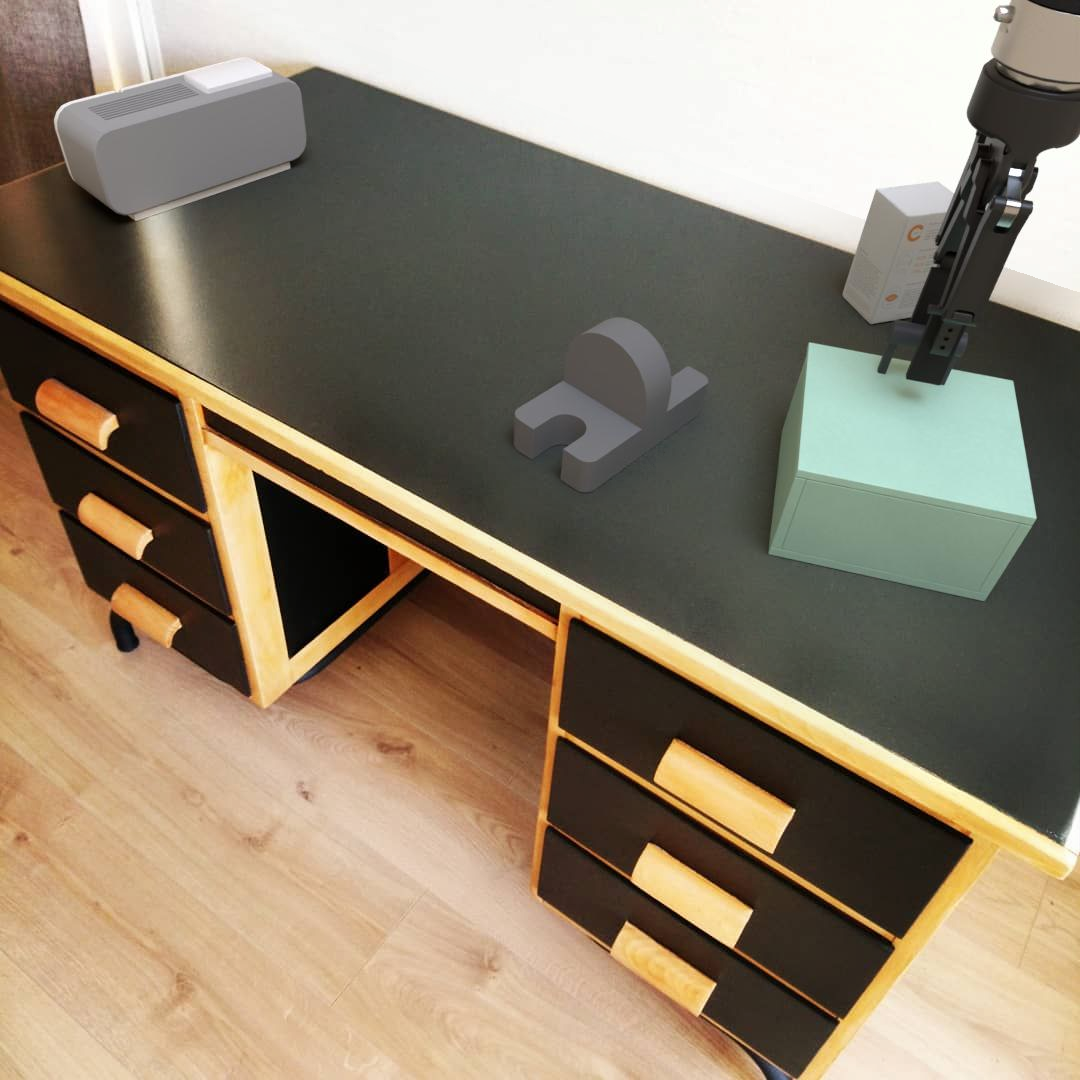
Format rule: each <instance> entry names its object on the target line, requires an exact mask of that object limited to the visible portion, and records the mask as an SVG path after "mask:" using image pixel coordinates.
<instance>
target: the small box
mask: <svg viewBox="0 0 1080 1080" xmlns="http://www.w3.org/2000/svg"><path fill="white" fill-rule="evenodd" d="M954 193H955V192H953V190H950V189H949V188H948V187H946V186H945V185H944V184H942V183H941V182H939V181H930V182H921V183H914V184H906V185H898V186H891V187H882V188H881V187H880V188H876V189H875V191H874V194H873V198H872V201H871V204H870V206H869V208H868V209H869V210H868V213H867V216H866V218H865V219H866V220H865V222H864V226H863V228H862V232H861V234H860V237H859V240H858V244H857V247H856V251H855V253H854V256H853V259H852V263H851V266H850V269H849V272H848V275H847V277H846V281H845V284H844V288H843V291H842V295H841V296H842V298H844V300H846V301H847V303H848V304H849V305H850V306H851V307H852V308H853V309H854V310H855V311H856V312H857V313H858V315H860V316H861V317H862V318H863V319H864V320H865V321H866V322H867V323H868V324H869V325H874V324H881V323H887V322H893V320H903V319H911V317H912V314H913V312H914V309H915V307H916V304H917V302H918V299H919V297H920V294H921V292H922V289H923V287H924V284H925V282H926V279H927V277H928V274H929V272H930V269H931V267H937V264H934V263H933V261H934V259H933V256H934V253H935V252H936V251H937V249H938V247H939V246H935V238H936V235H938V232H939V230H940V227H941V225H942V222H943V220H944V218H945V215H946V213H947V210H948V208H949V205H950V203H951V200H952V198H953V195H954Z"/></svg>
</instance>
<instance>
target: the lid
mask: <svg viewBox="0 0 1080 1080" xmlns="http://www.w3.org/2000/svg"><path fill="white" fill-rule="evenodd" d="M925 327H926V325H921V324H916V323H910V321H904V320H901V319H899V320H893V321H891V323H890V326H889V329H888V333H887V338H886V342H887V343H886V345H885V348H884V351H883V353H882V355H880V354H879V355H878V354H874V353H869V352H863V351H858V350H853V349H847V348H843V347H842V348H841V347H836V346H831V345H827V344H820V343H816V342H808V344H807V347H806V352H805V353H806V354H805V355H806V356H805V358H806V364H805V375H804V386H803V397H802V408H801V419H800V430H799V441H798V452H797V463H796V474H795V476H796V477H800V478H805V479H810V480H815V481H820V482H825V483H829V484H834V485H839V486H844V487H849V488H854V489H858V490H863V491H868V492H873V493H878V494H883V495H887V496H892V497H897V498H902V499H907V500H912V501H916V502H921V503H926V504H931V505H936V506H941V507H945V508H950V509H955V510H960V511H965V512H970V513H974V514H979V515H984V516H989V517H994V518H999V519H1003V520H1008V521H1013V522H1018V523H1023V524H1028V525H1032V526H1034V523H1035V522H1036V520H1037V518H1038V517H1037V512H1036V505H1035V500H1034V494H1033V488H1032V482H1031V477H1030V470H1029V466H1028V464H1029V463H1028V459H1027V452H1026V447H1025V442H1024V435H1023V429H1022V425H1021V418H1020V412H1019V407H1018V401H1017V396H1016V388H1015V383H1014V382H1015V381H1014V380H1011V379H1006V378H1001V377H996V376H990V375H986V374H980V373H975V372H969V371H964V370H958V369H953V367H954V365H955V364H956V361H957V359H958V357H959V358H961V357H962V356H963V355H964V353H965V351H966V349H967V346H968V341H969V333H968V332H965V331H964V333H963V335H962V338H961V340H960V342H959V344H958V346H957V349H956V351H955V353H954V355H953V357H952V360H951V362H950V364H949V366H948V369H947V371H946V373H945V375H944V377H943V380H942V382H941V384H940V386H939V385H934V384H928V383H923V382H918V381H913V380H907V379H906V372H907V370H908V368H909V365H910V363H911V360H905V359H901V358H895V357H893V356H894V354H895V352H896V349H897V346H899V347H905V348H909V349H910V348H911V349H915V350H916V348H917V346H918V344H919V341H920V339H921V336H922V334H923V332H924V329H925Z"/></svg>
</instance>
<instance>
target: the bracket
mask: <svg viewBox="0 0 1080 1080" xmlns="http://www.w3.org/2000/svg"><path fill="white" fill-rule="evenodd" d="M708 385H709V378H708V376H706V375H705V374H704V373H703V372H700V371H698V370H697V369H695V368H693V367H691V366H690V365H687V366H685V367H684V368H683V369H681V370H680V371H678V372H676V373H675V374H674V375H672V372H671V366H670V362H669V361H668V358H667V356H666V353H665V351H664V349H663V347H662V345H661V344H660V343H659V341H658V340H657V338H656V337H655V336H654V335H653V334H652V333H651V332H650V331H649V330H648V329H647V328H646V327H644V326H643V325H641V324H640V323H639V322H637V321H635V320H632V319H630V318H627V317H617V316H614V317H612V318H607V319H605V320H603V321H601V322H600V323H598V324H596V325H594V326H593V327H591V328H589V329H588V330H586V331H584V332H582V333H580V334H579V335H578V336H577V337H575V338H573V339H572V340H571V343H570V344H569V346H568V347H567V350H566V354H565V358H564V370H563V379H562V381H560V382H558V383H557V384H556V385H554V386H552V387H550V388H549V389H547V390H545V391H543V392H542V393H541V394H538V395H537V396H536V397H533V398H532V399H530V400H529V401H528V402H525V403H524V404H522V405H520V406H519V407H517V408H516V410H515V411H514V421H513V422H514V423H513V424H514V425H513V443H512V446H513V447H514V448H515V450H516V451H518V452H519V453H521V454H522V455H524V456H525V457H527V458H528V459H530V460H534V459H535V458H536V457H537V456H539V455H541V454H543V453H544V452H546V451H547V450H548V449H550V448H552V447H554V446H560V445H561V446H562V445H563V446H566V447H564V448H563V449H562V459H561V469H560V478H559V480H560V481H561V482H563V483H565V484H566V485H568V486H569V487H571V488H572V489H574V490H575V491H577V492H578V493H579V492H580V493H591V492H593V491H595V490H596V489H598V488H599V487H600V486H602V485H603V484H604V483H606V482H607V481H609V480H610V479H612V478H613V477H614V476H616V475H617V474H619V473H620V472H622V471H623V470H625V468H627V467H628V466H630V465H631V464H633V463H634V462H635V461H637V460H638V459H640V458H641V457H642V456H643V455H645V454H646V453H648V452H649V451H651V450H652V449H653V448H654V447H656V446H657V445H659V444H661V443H662V442H663V441H664V440H666V439H667V438H669V437H670V436H671V435H673V434H674V433H676V432H677V431H678V430H680V429H681V428H683V427H684V426H685V425H687V424H689V423H690V422H691V421H692V420H694V419H695V418H697V417H698V416H699V415H700V414H701V413H702V410H703V406H704V401H705V397H706V392H707V389H708Z"/></svg>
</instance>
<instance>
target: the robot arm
mask: <svg viewBox="0 0 1080 1080" xmlns="http://www.w3.org/2000/svg"><path fill="white" fill-rule="evenodd" d="M992 19H993V20H994V21H995V22H997V23H999V25H998V28H997V31H996V33H995V37H994V39H993V41H992V44H991V47H990V53H991V56H992V58H991V59H990V60H988V61H987V62H985V63H984V64H983V66H982V69H981V71H980V74H979V76H978V79H977V82H976V84H975V87H974V89H973V92H972V94H971V98H970V99H969V102H968V105H967V108H966V118H967V121H968V122H969V124H970V125H971V127H972V128H973V129H975V130H976V131H975V138H974V141H973V144H972V147H971V150H970V153H969V156H968V158H967V161H966V163H965V165H964V168H963V170H962V173H961V175H960V178H959V180H958V183H957V186H956V188H955V190H954V192H953V193H954V195H953V198H952V200H951V203H950V205H949V208H948V210H947V213H946V215H945V218H944V220H943V222H942V225H941V227H940V230H939V232H938V235H936V238H935V246H939V247H938V249H937V251H936V252H935V253H934V256H933V259H934V261H933V263H934V264H937V267H931V269H930V272H929V274H928V277H927V279H926V282H925V284H924V287H923V289H922V292H921V294H920V297H919V299H918V302H917V304H916V307H915V309H914V312H913V314H912V317H911V318H909V322H910V323H916V324H921V325H926V327H925V329H924V332H923V334H922V336H921V339H920V341H919V344H918V346H917V348H916V349H915V350H914V353H913V356H912V358H911V360H910V361H911V363H910V365H909V368H908V370H907V372H906V379H907V380H913V381H918V382H923V383H928V384H934V385H939V386H940V384H941V382H942V380H943V377H944V375H945V373H946V371H947V369H948V366H949V364H950V362H951V360H952V357H953V355H954V353H955V351H956V349H957V346H958V344H959V342H960V340H961V338H962V335H963V333H964V332H965V331H966V328H967V327H978V326H979V323H981V321H982V316H983V314H984V312H985V310H986V307H987V305H988V304H989V300H990V298H991V296H992V294H993V291H994V289H995V288H996V285H997V283H998V280H999V278H1000V276H1001V274H1002V271H1003V269H1004V267H1005V266H1006V262H1007V260H1008V258H1009V256H1010V254H1011V251H1012V250H1013V247H1014V245H1015V243H1016V240H1017V238H1018V236H1019V234H1020V233H1021V231H1022V229H1023V227H1024V226H1025V225H1026V223H1027V221H1028V220H1029V217H1030V216H1031V215H1032V213H1033V211H1034V201H1033V200H1029V199H1026V197H1027V195H1028V194H1030V193H1031V192H1032V190H1033V189H1034V186H1035V184H1036V181H1037V178H1038V175H1039V171H1040V170H1039V166H1036V164H1037V161H1038V157H1039V156H1040V154H1041V153H1043V152H1045V151H1048V150H1051V149H1061V148H1064V147H1067V146H1069V145H1071V144H1073V143H1074V142H1075V141H1077V139H1078V138H1079V137H1080V0H1010V2H1009V4H1006V5H1003V4H1001V5H1000V4H999V5H998V6H997V7H996V8H995V10H994V14H993V16H992Z"/></svg>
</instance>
